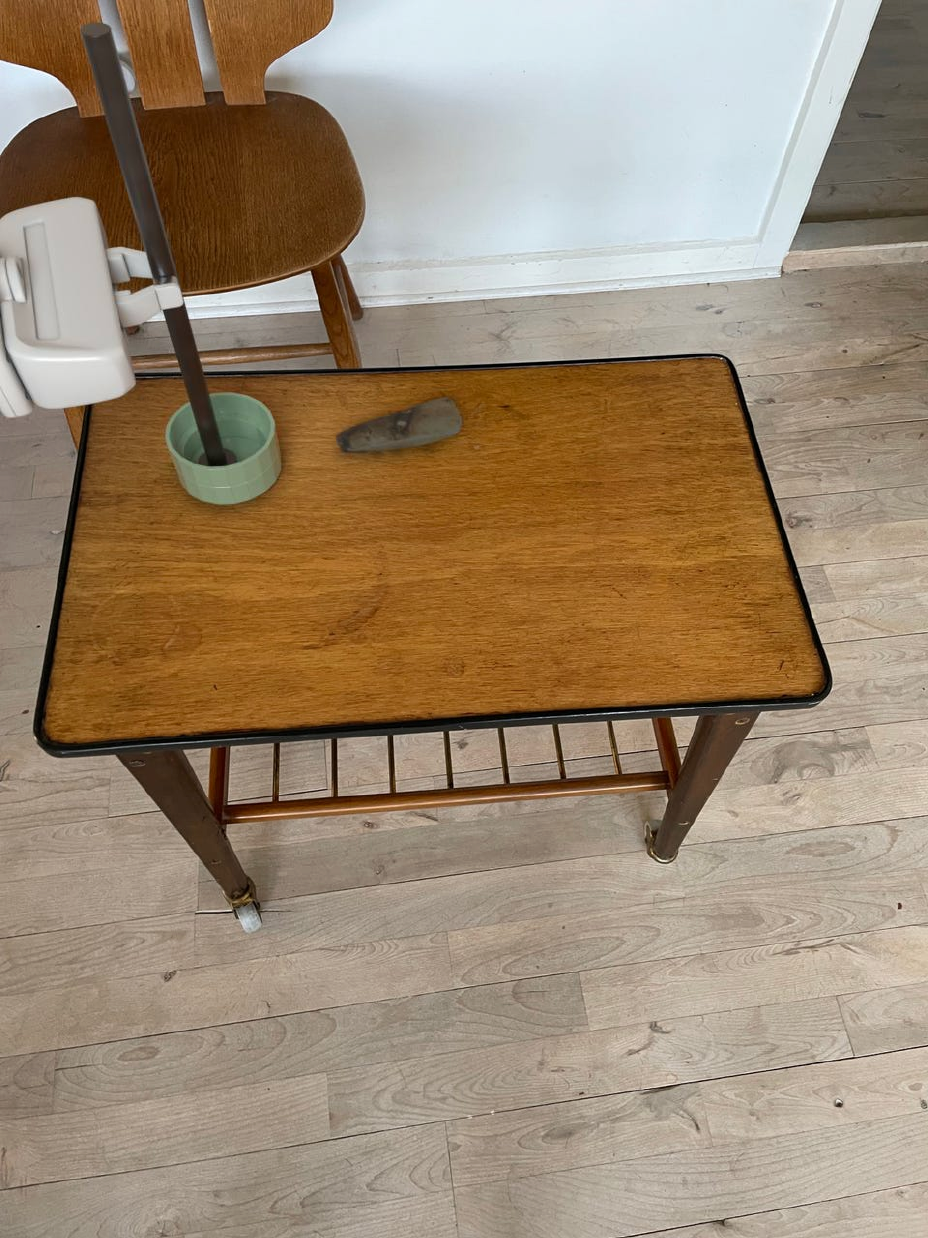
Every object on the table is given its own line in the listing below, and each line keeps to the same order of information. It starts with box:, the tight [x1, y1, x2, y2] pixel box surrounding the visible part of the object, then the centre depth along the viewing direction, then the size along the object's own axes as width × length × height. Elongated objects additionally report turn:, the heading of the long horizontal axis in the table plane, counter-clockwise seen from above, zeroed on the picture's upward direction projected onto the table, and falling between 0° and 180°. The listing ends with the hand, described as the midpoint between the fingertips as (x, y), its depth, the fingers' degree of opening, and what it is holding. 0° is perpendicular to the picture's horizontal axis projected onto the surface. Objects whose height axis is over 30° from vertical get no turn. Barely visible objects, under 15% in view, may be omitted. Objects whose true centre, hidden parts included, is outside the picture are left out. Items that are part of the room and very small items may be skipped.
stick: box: [79, 22, 237, 466], centre depth 66 cm, size 4×4×38 cm
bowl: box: [164, 391, 283, 506], centre depth 82 cm, size 10×10×6 cm
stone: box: [335, 396, 463, 454], centre depth 86 cm, size 13×5×2 cm, turn 112°
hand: (177, 277), depth 65 cm, fingers closed on stick, 2 cm apart
